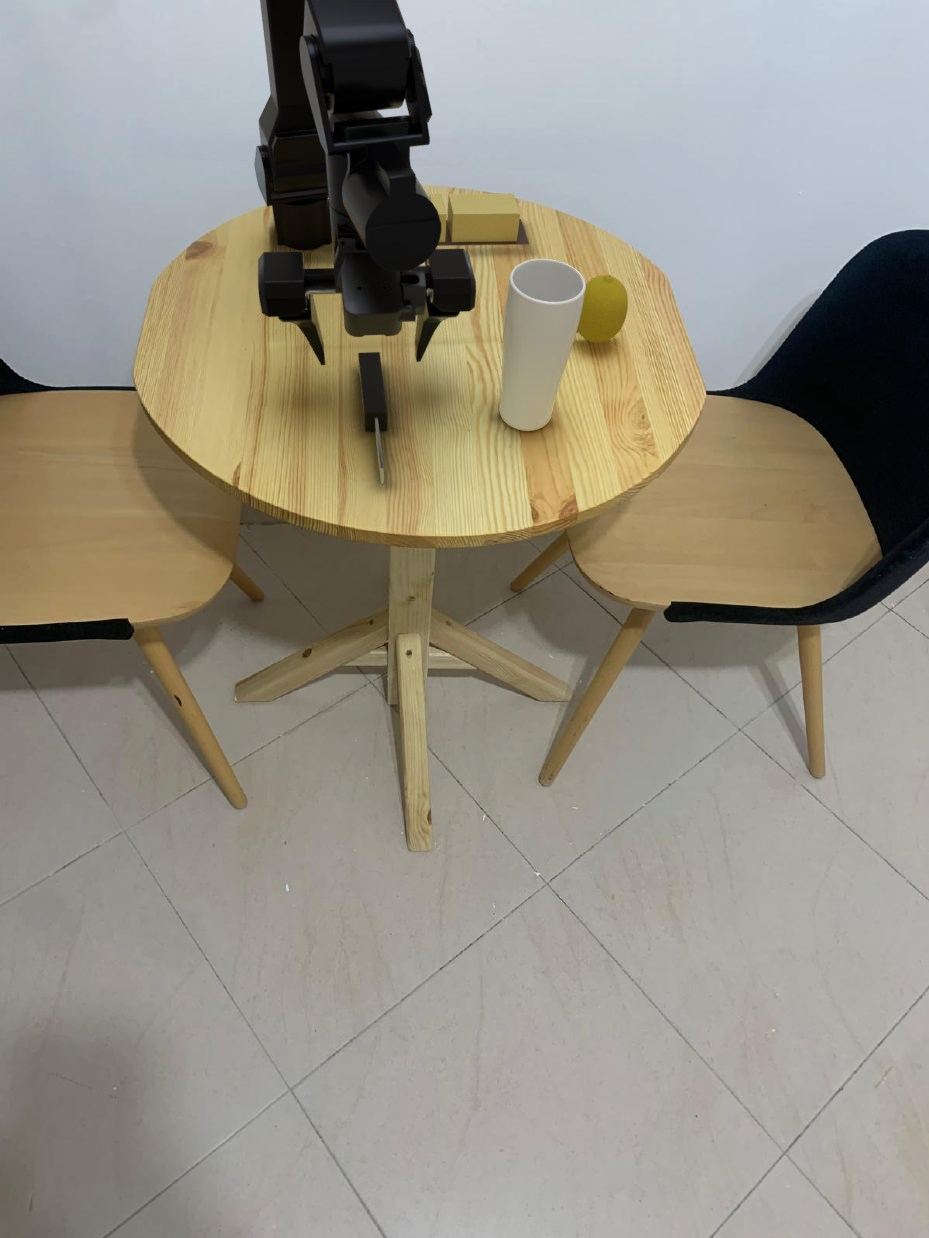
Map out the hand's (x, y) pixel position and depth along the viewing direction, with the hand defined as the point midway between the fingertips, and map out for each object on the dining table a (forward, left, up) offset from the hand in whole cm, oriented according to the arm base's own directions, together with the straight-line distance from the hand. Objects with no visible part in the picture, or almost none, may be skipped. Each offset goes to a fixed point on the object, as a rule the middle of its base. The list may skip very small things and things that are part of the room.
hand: (370, 361), depth 75 cm
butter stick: (+16, +27, -3) cm, 32 cm away
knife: (0, -5, -4) cm, 6 cm away
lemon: (+25, +7, -4) cm, 26 cm away
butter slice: (+10, +27, -3) cm, 29 cm away
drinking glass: (+15, -4, -4) cm, 16 cm away
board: (+13, +27, -4) cm, 31 cm away
